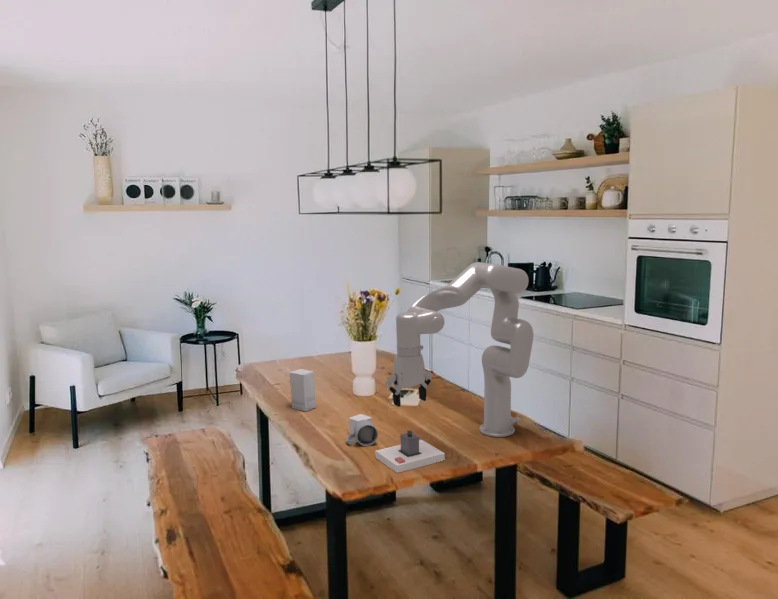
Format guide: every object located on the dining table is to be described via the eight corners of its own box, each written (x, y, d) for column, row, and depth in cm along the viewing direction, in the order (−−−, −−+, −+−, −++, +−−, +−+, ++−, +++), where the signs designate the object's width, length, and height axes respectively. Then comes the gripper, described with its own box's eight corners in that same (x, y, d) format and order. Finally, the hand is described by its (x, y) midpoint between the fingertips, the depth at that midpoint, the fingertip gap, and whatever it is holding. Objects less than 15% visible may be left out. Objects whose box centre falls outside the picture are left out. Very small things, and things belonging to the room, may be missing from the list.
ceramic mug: (373, 436, 228) (372, 416, 227) (378, 444, 220) (377, 423, 219) (344, 440, 226) (343, 419, 224) (348, 448, 218) (347, 427, 217)
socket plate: (421, 446, 219) (421, 437, 218) (444, 460, 207) (444, 451, 206) (375, 457, 210) (375, 448, 209) (397, 473, 198) (397, 463, 197)
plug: (411, 455, 212) (410, 427, 210) (419, 460, 207) (418, 432, 206) (400, 457, 210) (400, 429, 208) (408, 463, 205) (408, 434, 204)
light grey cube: (372, 433, 232) (372, 417, 231) (360, 437, 227) (359, 421, 226) (361, 429, 236) (360, 413, 235) (349, 433, 232) (348, 417, 231)
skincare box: (316, 408, 260) (315, 371, 257) (304, 412, 255) (303, 374, 252) (302, 404, 265) (301, 367, 262) (290, 408, 260) (289, 371, 257)
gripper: (424, 344, 210) (425, 394, 213) (379, 352, 201) (381, 404, 204) (437, 349, 203) (438, 400, 206) (391, 358, 195) (392, 411, 198)
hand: (410, 402), depth 205 cm, fingers open, 9 cm apart
